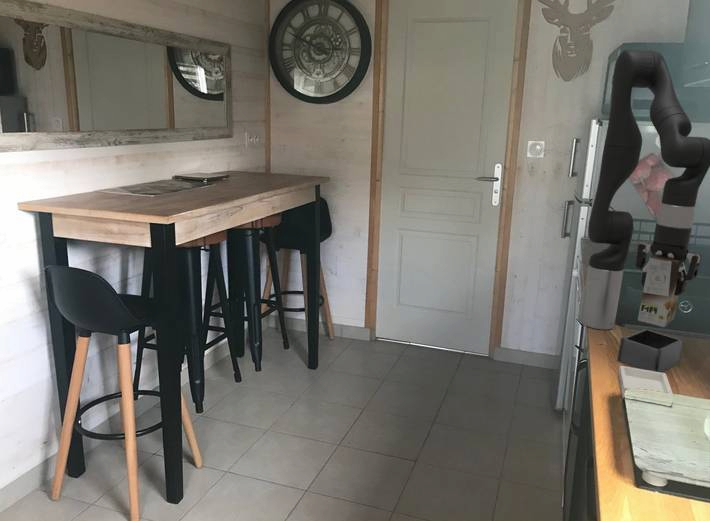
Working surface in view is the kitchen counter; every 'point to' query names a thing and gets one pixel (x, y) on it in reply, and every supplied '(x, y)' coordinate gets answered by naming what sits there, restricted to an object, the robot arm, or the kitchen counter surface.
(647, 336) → the sleeve
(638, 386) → the tray
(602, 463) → the kitchen counter surface
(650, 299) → the coffee box
